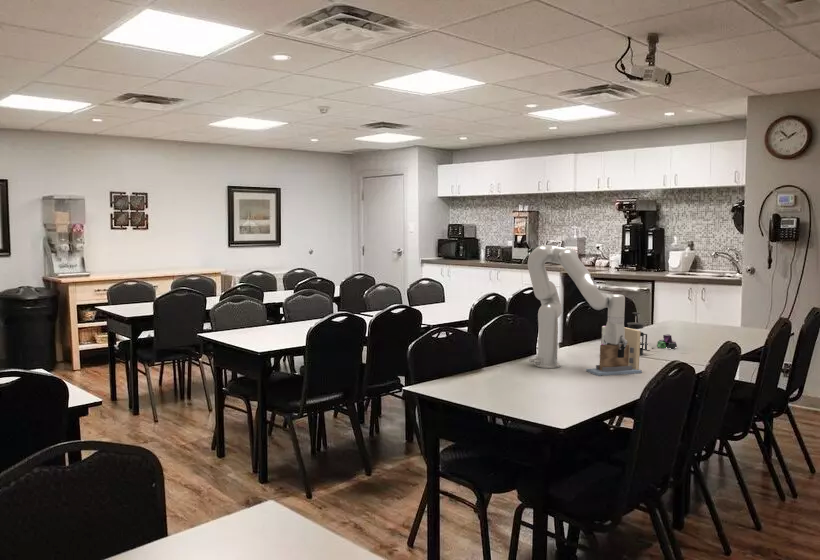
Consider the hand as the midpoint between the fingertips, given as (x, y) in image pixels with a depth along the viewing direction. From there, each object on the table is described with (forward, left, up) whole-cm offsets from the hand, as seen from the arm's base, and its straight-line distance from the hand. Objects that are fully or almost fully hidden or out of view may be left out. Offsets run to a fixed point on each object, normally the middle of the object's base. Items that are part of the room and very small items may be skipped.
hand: (614, 355), depth 313 cm
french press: (+39, +36, -8) cm, 54 cm away
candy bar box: (+22, +33, -8) cm, 40 cm away
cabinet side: (0, +5, -8) cm, 9 cm away
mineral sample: (+69, +49, -9) cm, 85 cm away
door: (0, 0, -7) cm, 7 cm away
